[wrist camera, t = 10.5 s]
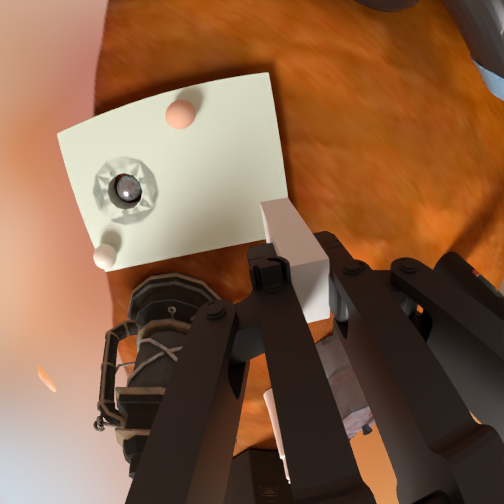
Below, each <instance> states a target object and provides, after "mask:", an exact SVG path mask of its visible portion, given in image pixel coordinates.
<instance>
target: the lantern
mask: <svg viewBox="0 0 504 504" xmlns="http://www.w3.org/2000/svg"><path fill="white" fill-rule="evenodd" d="M217 299H222V298H221V297H220V296H219V295H218V294H217V293H216V292H215V291H214V290H213V289H211V288H210V287H209V286H208V285H207V284H206V283H205V282H204V281H203V280H199V279H196V278H193V277H190V276H187V275H183V274H180V273H177V272H175V273H168V274H161V275H153V276H149V277H148V278H147V279H146V280H144V281H143V282H142V283H141V284H139V285H138V286H137V287H136V288H135V289H133V291H132V295H131V299H130V304H129V309H128V311H129V313H128V318H129V321H124V322H122V323H120V324H119V325H117V326H115V327H114V328H112V329H110V330H109V331H107V332H106V334H105V339H106V341H105V349H104V356H103V363H102V364H101V370H102V373H101V383H100V394H99V402H98V404H97V409H98V410H99V411H100V412H101V414H100V416H98V417H97V421H95V422H94V428H95V429H96V430H97V431H103V430H104V429H105V428H104V427H103V426H104V425H106V426H111V427H116V428H115V431H116V437H117V441H118V443H119V444H120V445H121V446H122V447H123V453H124V457H125V460H126V461H127V462H128V463H130V469H129V477H131V478H132V479H133V478H134V475H135V472H136V469H137V466H138V464H139V461H140V458H141V455H142V452H143V449H144V447H145V444H146V441H147V438H148V436H149V433H150V430H151V427H152V425H153V422H154V419H155V417H156V414H157V411H158V409H159V406H160V403H161V401H162V398H163V395H164V393H165V390H166V388H167V385H168V382H169V380H170V377H171V375H172V372H173V369H174V367H175V364H176V362H177V359H178V357H179V354H180V352H181V349H182V347H183V344H184V342H185V339H186V337H187V334H188V332H189V329H190V327H191V324H192V322H193V319H194V317H195V315H196V312H197V311H198V309H199V308H200V307H201V306H202V305H204V304H205V303H207V302H209V301H212V300H217ZM129 335H137V339H136V344H137V346H138V349H137V352H138V354H137V358H136V361H135V362H130V363H124V364H119V365H118V366H117V367H116V357H117V346H118V344H119V341H120V340H122V339H124V338H125V337H128V336H129ZM132 364H135V367H134V371H133V373H132V374H131V375H130V377H129V378H128V379H127V386H126V387H116V389H115V390H116V400H117V407H118V410H119V411H118V410H116V409H115V403H114V387H115V374H116V372H117V370H118V369H119V367H120V366H126V365H132ZM131 380H132V381H131ZM130 384H131V386H130ZM103 417H104V418H105V419H106V421H107V422H109V423H107V422H104V421H103ZM97 424H98V426H100V427H101V428H98V427H97ZM236 443H237V439H236V441H235V444H236Z"/></svg>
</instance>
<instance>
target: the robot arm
mask: <svg viewBox="0 0 504 504" xmlns="http://www.w3.org/2000/svg"><path fill="white" fill-rule="evenodd" d="M356 1H358V2H359V3H361V4H363V5H365V6H367V7H370V8H373V9H376V10H379V11H384V12H398V11H402V10H405V9H407V8H410V7H412V6H414V5H415V4H416V3H418V1H419V0H356ZM441 1H442V2H443V4H444V6H445V7H446V9H447V10H448V12H449V14H450V15H451V17H452V19H453V20H454V22H455V24H456V26H457V28H458V29H459V31H460V33H461V35H462V37H463V39H464V41H465V43H466V45H467V47H468V49H469V51H470V53H471V54H470V56H471V59H472V61H473V62H474V63H475V64H476V66H477V68H478V70H479V72H480V75H481V77H482V79H483V81H484V83H485V85H486V87H487V88H488V89H489V90H490V92H491V93H493V94H494V95H495V96H496V97H498V98H500V99H501V100H503V101H504V0H441ZM260 206H261V212H262V218H263V224H264V230H265V236H266V242H267V243H266V244H261V245H256V246H251V247H250V248H249V250H248V252H247V257H248V262H249V272H250V277H251V282H252V287H253V290H252V292H251V294H250V295H249V296H248V297H247V298H246V299H244V300H243V301H241V302H239V303H236V304H233V303H232V302H230V301H228V300H224V299H217V300H212V301H209V302H207V303H205V304H204V305H202V306H201V307H200V308H199V309H198V311H197V312H196V315H195V317H194V319H193V322H192V324H191V327H190V329H189V332H188V334H187V337H186V339H185V342H184V344H183V347H182V349H181V352H180V354H179V357H178V359H177V362H176V364H175V367H174V369H173V372H172V375H171V377H170V380H169V382H168V385H167V388H166V390H165V393H164V395H163V398H162V401H161V403H160V406H159V409H158V411H157V414H156V417H155V419H154V422H153V425H152V427H151V430H150V433H149V436H148V438H147V441H146V444H145V447H144V449H143V452H142V455H141V458H140V461H139V464H138V466H137V469H136V472H135V475H134V478H133V481H132V484H131V487H130V490H129V493H128V496H127V499H126V502H125V504H223V502H224V497H225V492H226V487H227V482H228V477H229V472H230V467H231V462H232V457H233V452H234V447H235V441H236V436H237V431H238V426H239V420H240V415H241V410H242V404H243V399H244V393H245V388H246V382H247V377H248V371H249V366H250V359H252V358H254V357H257V356H259V355H261V354H263V353H265V355H266V361H267V366H268V371H269V376H270V382H271V387H272V392H273V397H274V402H275V408H276V413H277V418H278V423H279V428H280V433H281V438H282V444H283V449H284V454H285V459H286V464H287V469H288V474H289V479H290V484H291V489H292V494H293V500H294V504H377V503H376V501H375V498H374V495H373V493H372V492H371V490H370V488H369V487H368V486H367V485H366V484H365V483H364V481H363V480H362V478H361V475H360V472H359V469H358V466H357V463H356V460H355V457H354V454H353V451H352V448H351V445H350V442H349V439H348V436H347V433H346V430H345V427H344V424H343V421H342V418H341V415H340V413H339V410H338V407H337V404H336V401H335V398H334V395H333V393H332V390H331V387H330V384H329V381H328V378H327V376H326V373H325V370H324V367H323V365H322V362H321V359H320V356H319V354H318V351H317V348H316V345H315V343H314V340H313V337H312V335H311V332H310V329H309V327H308V324H307V323H310V322H314V321H318V320H322V319H327V318H330V309H331V311H332V313H333V315H334V318H333V339H334V340H336V337H337V334H338V336H339V339H340V341H341V343H342V345H343V347H344V350H345V352H346V354H347V356H348V359H349V361H350V363H351V366H352V368H353V370H354V372H355V375H356V377H357V379H358V382H359V384H360V386H361V389H362V391H363V394H364V396H365V398H366V401H367V403H368V406H369V408H370V410H371V413H372V415H373V418H374V420H375V423H376V425H377V428H378V430H379V433H380V435H381V438H382V440H383V443H384V445H385V448H386V451H387V453H388V456H389V459H390V461H391V464H392V467H393V469H394V472H395V475H396V478H397V489H396V490H397V497H398V501H399V504H504V321H503V320H502V319H500V318H499V317H498V316H496V315H495V314H494V313H493V312H491V311H490V310H489V309H487V308H486V307H485V306H483V305H482V304H481V303H479V302H478V301H477V300H475V299H474V298H472V297H471V296H470V295H468V294H467V293H465V292H464V291H463V290H461V289H460V288H458V287H457V286H456V285H454V284H453V283H451V282H450V281H448V280H447V279H445V278H444V277H442V276H441V275H439V274H438V273H436V272H435V271H433V270H432V269H430V268H429V267H427V266H426V265H424V264H423V263H421V262H420V261H418V260H415V259H412V258H407V257H404V258H399V259H396V260H394V261H393V262H392V264H391V269H390V270H372V269H371V268H370V267H369V265H367V264H366V263H365V262H363V261H360V260H355V259H353V258H352V256H351V255H350V254H349V252H348V251H347V250H346V249H345V247H344V246H343V245H342V244H341V242H339V240H338V239H337V237H336V236H335V235H334V234H332V233H330V232H328V231H323V232H318V233H313V234H312V232H311V231H310V229H309V228H308V226H307V225H306V223H305V222H304V220H303V219H302V217H301V216H300V215H299V213H298V212H297V210H296V209H295V207H294V206H293V205H292V203H291V202H290V200H289V199H288V197H287V198H281V199H276V200H270V201H265V202H260ZM418 305H420V306H421V307H422V308H423V313H420V312H418V311H417V306H418ZM469 411H470V412H471V413H472V414H473V415H474V416H475V417H476V418H477V419H478V420H479V421H480V422H481V424H478V423H477V422H475V420H474V419H473V418H472V416H471V414H470V412H469Z"/></svg>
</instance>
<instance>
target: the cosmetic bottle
mask: <svg viewBox="0 0 504 504" xmlns="http://www.w3.org/2000/svg"><path fill="white" fill-rule="evenodd" d="M264 399H265V401H266V404H267V407H268V410H269V414H270V417H271V421H272V425H273V430H274V434H275V438H276V443H277V447H278V451H279V455H280V458H281V459H283V463H284V468H285V473H286V478H287V479H288V480H289V484H290V479H289V474H288V469H287V464H286V459H285V454H284V449H283V444H282V438H281V433H280V428H279V423H278V418H277V413H276V408H275V402H274V397H273V392H272V388H270V389H268V390H267V391H266V392H265V393H264Z"/></svg>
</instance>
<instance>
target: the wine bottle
mask: <svg viewBox="0 0 504 504" xmlns="http://www.w3.org/2000/svg"><path fill="white" fill-rule="evenodd" d="M433 271H435V272H436V273H438V274H439V275H441V276H442V277H444V278H445V279H447V280H448V281H450V282H451V283H453V284H454V285H456V286H457V287H458V288H460V289H461V290H463V291H464V292H465V293H467V294H468V295H470V296H471V297H472V298H474V299H475V300H477V301H478V302H479V303H481V304H482V305H483V306H485V307H486V308H487V309H489V310H490V311H491V312H493V313H494V314H495V315H496V316H498V317H499V318H500V319H502V320H503V321H504V296H503V295H502V294H501V293H500V292H499V291H498V290H497V289H496V288H495V287H494V286H493V285H492V284H491V283H490V282H489V281H488V280H486V279H485V278H484V277H483V276H482V275H481V274H480V273H479V272H478V271H477V270H475V269H474V268H473V267H472V266H471V265H470V264H469V263H467V262H466V261H465V260H464V259H463V258H462V257H460V256H459V255H458V254H457V253H455V252H449V253H447V254H445V255H444V256H443V257H442V258H441V259H440V260H439V261H438V262H437V264H436V266H435V268H434V270H433Z"/></svg>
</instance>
